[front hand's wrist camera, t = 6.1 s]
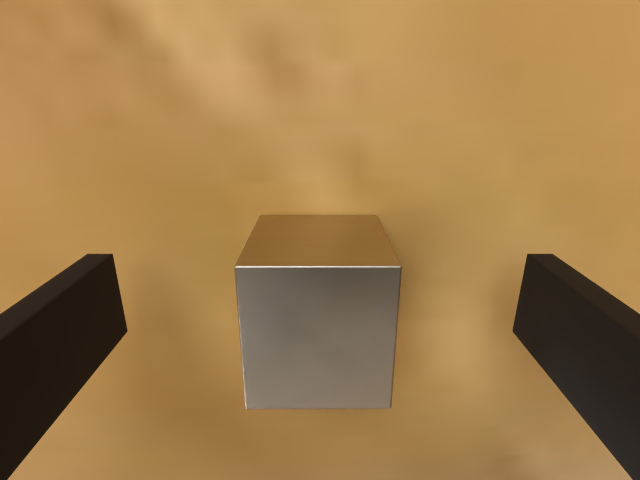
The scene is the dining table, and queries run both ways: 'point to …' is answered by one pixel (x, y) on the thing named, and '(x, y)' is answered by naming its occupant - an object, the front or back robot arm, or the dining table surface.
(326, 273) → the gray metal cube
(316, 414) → the dining table surface
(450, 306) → the dining table surface
